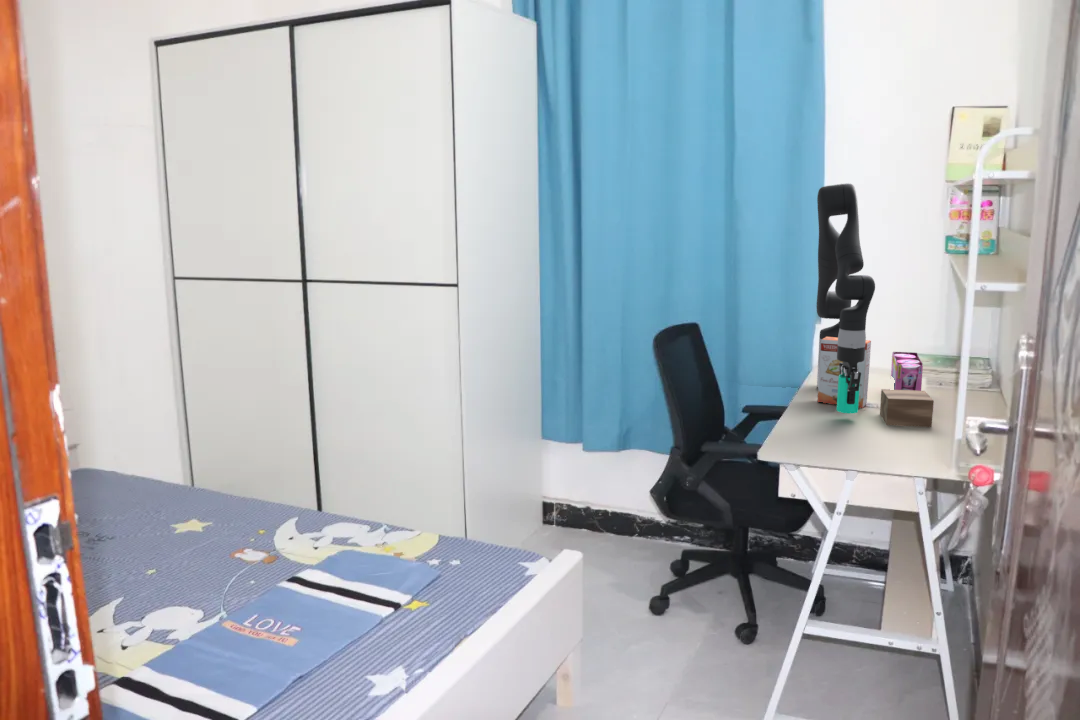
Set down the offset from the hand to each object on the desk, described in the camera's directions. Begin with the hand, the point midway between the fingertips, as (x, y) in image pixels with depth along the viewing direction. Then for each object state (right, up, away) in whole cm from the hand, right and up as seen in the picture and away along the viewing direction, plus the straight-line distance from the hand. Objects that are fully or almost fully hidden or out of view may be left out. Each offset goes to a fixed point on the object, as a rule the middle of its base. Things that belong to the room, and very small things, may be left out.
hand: (847, 401), depth 242 cm
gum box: (+28, -1, +26) cm, 38 cm away
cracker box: (+6, -2, +20) cm, 21 cm away
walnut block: (+17, -6, 0) cm, 18 cm away
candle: (0, -3, +1) cm, 3 cm away
